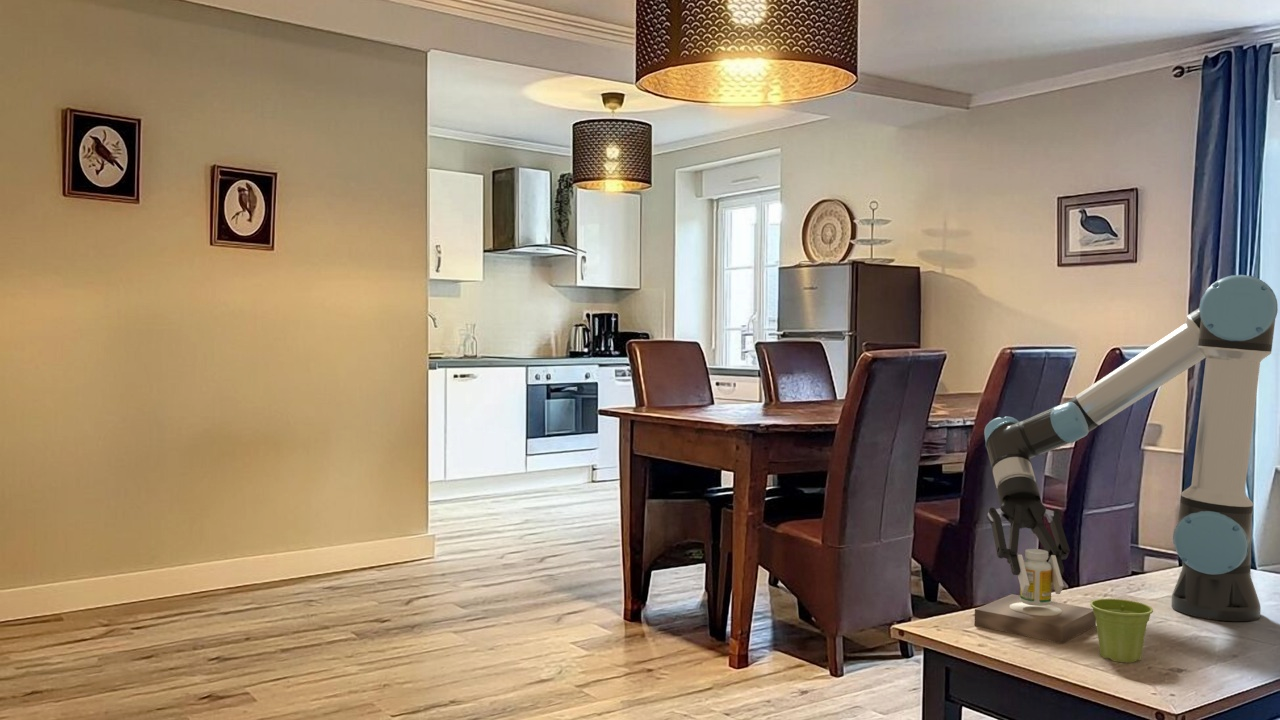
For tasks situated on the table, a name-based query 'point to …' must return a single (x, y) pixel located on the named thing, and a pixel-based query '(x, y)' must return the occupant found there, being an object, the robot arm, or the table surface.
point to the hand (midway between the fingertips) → (1042, 589)
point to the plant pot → (1121, 628)
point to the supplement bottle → (1037, 578)
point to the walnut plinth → (1035, 619)
